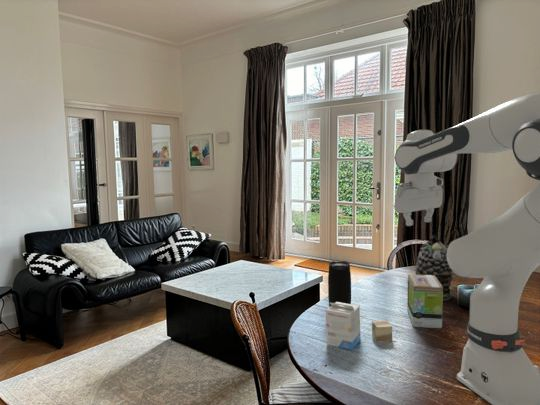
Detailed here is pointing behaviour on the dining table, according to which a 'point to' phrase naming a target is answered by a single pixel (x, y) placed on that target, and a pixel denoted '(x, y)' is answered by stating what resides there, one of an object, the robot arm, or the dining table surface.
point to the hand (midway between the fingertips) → (418, 223)
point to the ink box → (343, 325)
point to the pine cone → (435, 264)
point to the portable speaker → (339, 282)
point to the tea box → (425, 301)
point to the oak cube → (382, 330)
